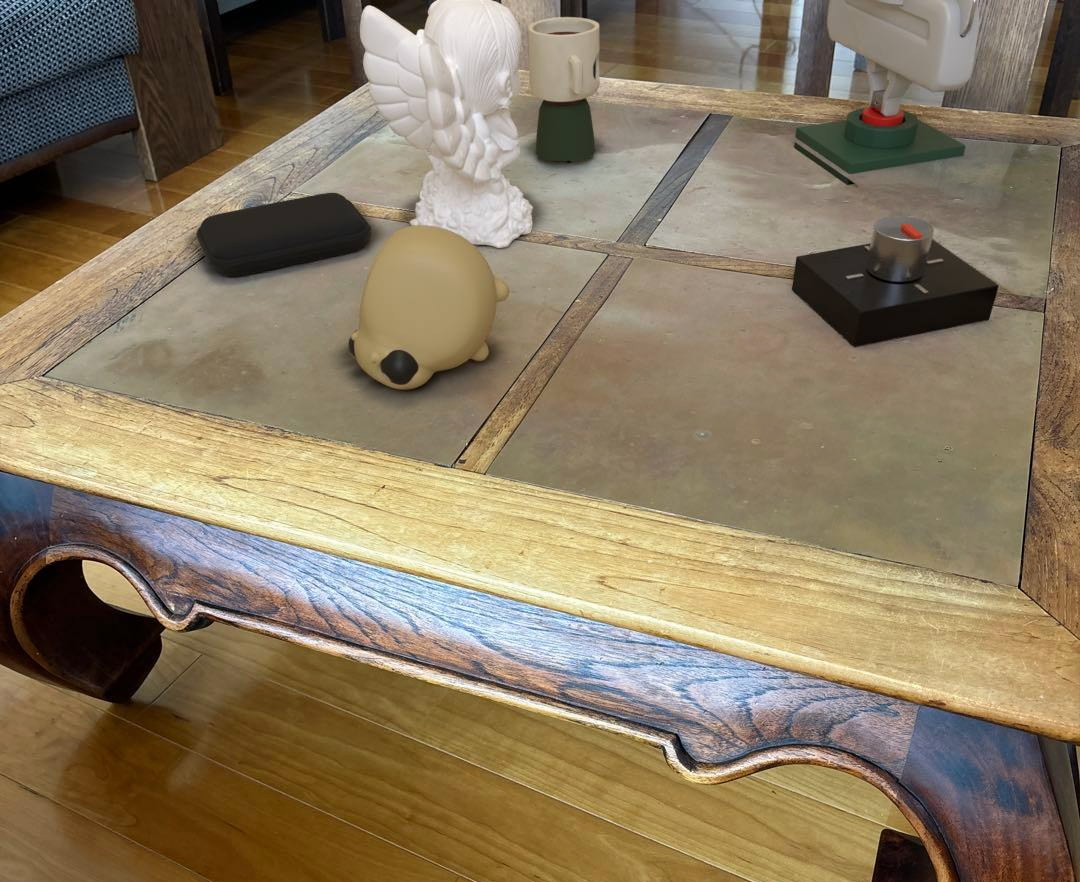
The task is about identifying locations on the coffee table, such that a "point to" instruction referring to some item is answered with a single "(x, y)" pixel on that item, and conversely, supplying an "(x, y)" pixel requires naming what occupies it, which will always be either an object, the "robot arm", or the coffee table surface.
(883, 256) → the dimmer knob
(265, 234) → the carrying case
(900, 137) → the lamp switch
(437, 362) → the tan pug toy
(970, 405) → the coffee table surface
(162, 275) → the coffee table surface
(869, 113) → the light button
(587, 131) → the character mug
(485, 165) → the cherub figurine
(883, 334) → the dimmer panel
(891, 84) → the robot arm
